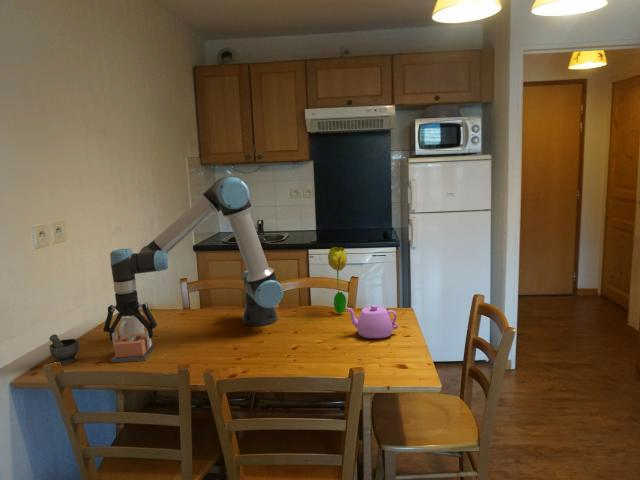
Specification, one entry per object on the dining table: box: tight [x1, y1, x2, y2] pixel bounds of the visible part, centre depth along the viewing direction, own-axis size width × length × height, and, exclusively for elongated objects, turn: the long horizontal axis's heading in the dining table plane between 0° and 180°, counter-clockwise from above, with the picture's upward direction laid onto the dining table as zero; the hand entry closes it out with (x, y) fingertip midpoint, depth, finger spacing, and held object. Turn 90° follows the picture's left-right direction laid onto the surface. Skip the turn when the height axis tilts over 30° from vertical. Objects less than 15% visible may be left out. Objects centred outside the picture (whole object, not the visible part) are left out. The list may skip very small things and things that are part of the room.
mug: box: [118, 311, 146, 338], centre depth 196 cm, size 12×8×10 cm
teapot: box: [345, 304, 399, 340], centre depth 186 cm, size 20×13×12 cm, turn 84°
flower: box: [327, 246, 348, 315], centre depth 211 cm, size 9×8×30 cm
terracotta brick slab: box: [113, 332, 149, 358], centre depth 180 cm, size 10×10×5 cm
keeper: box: [110, 335, 156, 364], centre depth 180 cm, size 12×12×8 cm
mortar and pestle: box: [48, 333, 80, 366], centre depth 177 cm, size 11×9×12 cm
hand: (133, 347), depth 180 cm, fingers open, 12 cm apart
